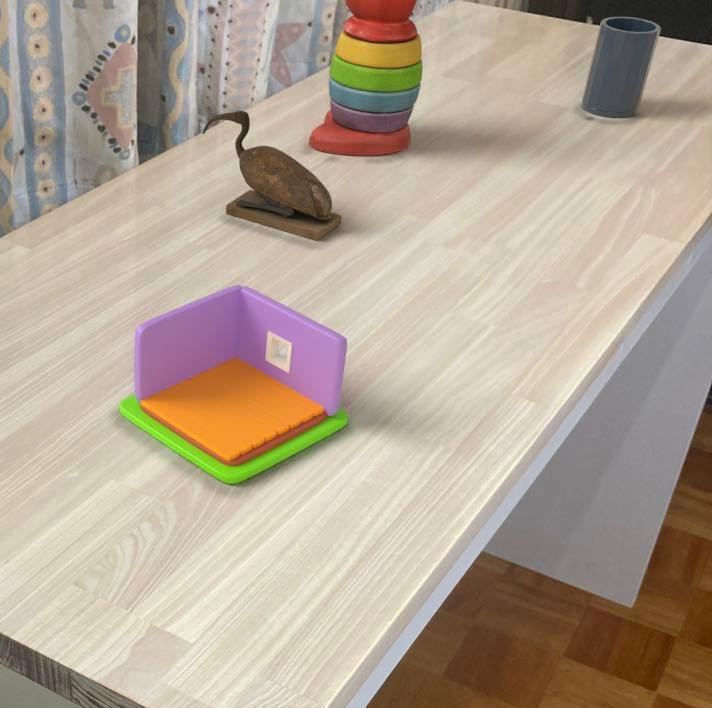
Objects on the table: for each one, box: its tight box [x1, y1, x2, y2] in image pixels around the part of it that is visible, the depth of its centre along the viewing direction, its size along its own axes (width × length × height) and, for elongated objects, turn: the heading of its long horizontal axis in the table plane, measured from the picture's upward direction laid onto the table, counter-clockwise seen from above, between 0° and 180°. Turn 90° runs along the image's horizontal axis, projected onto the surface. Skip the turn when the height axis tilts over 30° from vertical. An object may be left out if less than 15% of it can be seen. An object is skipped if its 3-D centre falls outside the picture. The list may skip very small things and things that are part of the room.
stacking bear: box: [308, 0, 423, 156], centre depth 115 cm, size 11×10×18 cm
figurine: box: [202, 110, 343, 241], centre depth 103 cm, size 14×4×9 cm, turn 56°
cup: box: [580, 16, 662, 119], centre depth 127 cm, size 6×6×9 cm
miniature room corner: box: [119, 284, 349, 485], centre depth 77 cm, size 12×12×7 cm
